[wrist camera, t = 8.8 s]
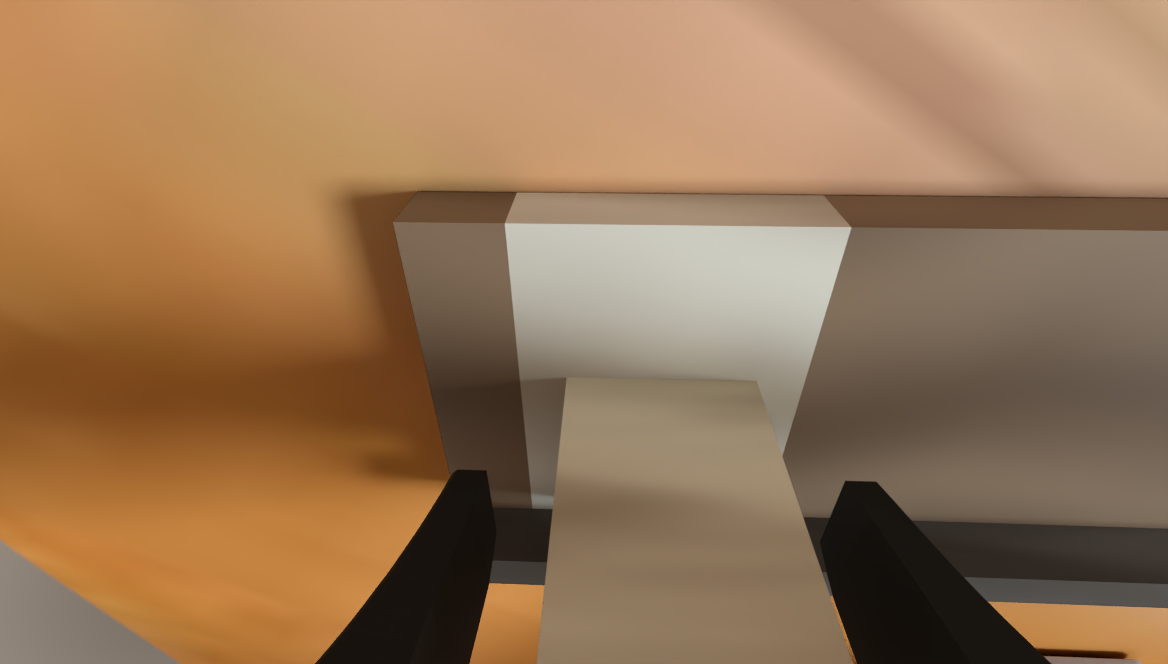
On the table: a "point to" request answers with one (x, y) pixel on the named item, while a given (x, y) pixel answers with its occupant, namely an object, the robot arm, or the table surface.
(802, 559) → the block
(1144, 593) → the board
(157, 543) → the table surface
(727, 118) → the table surface
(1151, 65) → the table surface
